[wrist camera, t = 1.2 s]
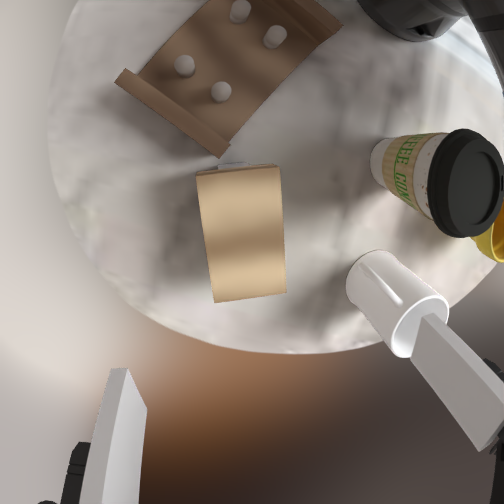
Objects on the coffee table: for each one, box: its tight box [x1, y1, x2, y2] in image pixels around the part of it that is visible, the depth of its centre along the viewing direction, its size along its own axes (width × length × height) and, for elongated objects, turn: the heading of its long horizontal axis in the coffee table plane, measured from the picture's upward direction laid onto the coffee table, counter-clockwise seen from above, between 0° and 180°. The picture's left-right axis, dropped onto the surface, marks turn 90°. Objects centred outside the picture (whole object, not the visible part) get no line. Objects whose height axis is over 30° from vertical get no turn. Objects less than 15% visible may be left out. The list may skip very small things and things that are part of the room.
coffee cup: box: [370, 129, 504, 238], centre depth 26 cm, size 10×10×15 cm
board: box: [196, 164, 286, 303], centre depth 28 cm, size 12×7×3 cm, turn 5°
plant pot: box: [470, 201, 504, 263], centre depth 33 cm, size 10×10×10 cm
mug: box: [346, 250, 449, 358], centre depth 33 cm, size 12×8×12 cm
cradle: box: [114, 0, 344, 159], centre depth 24 cm, size 18×12×6 cm, turn 140°
